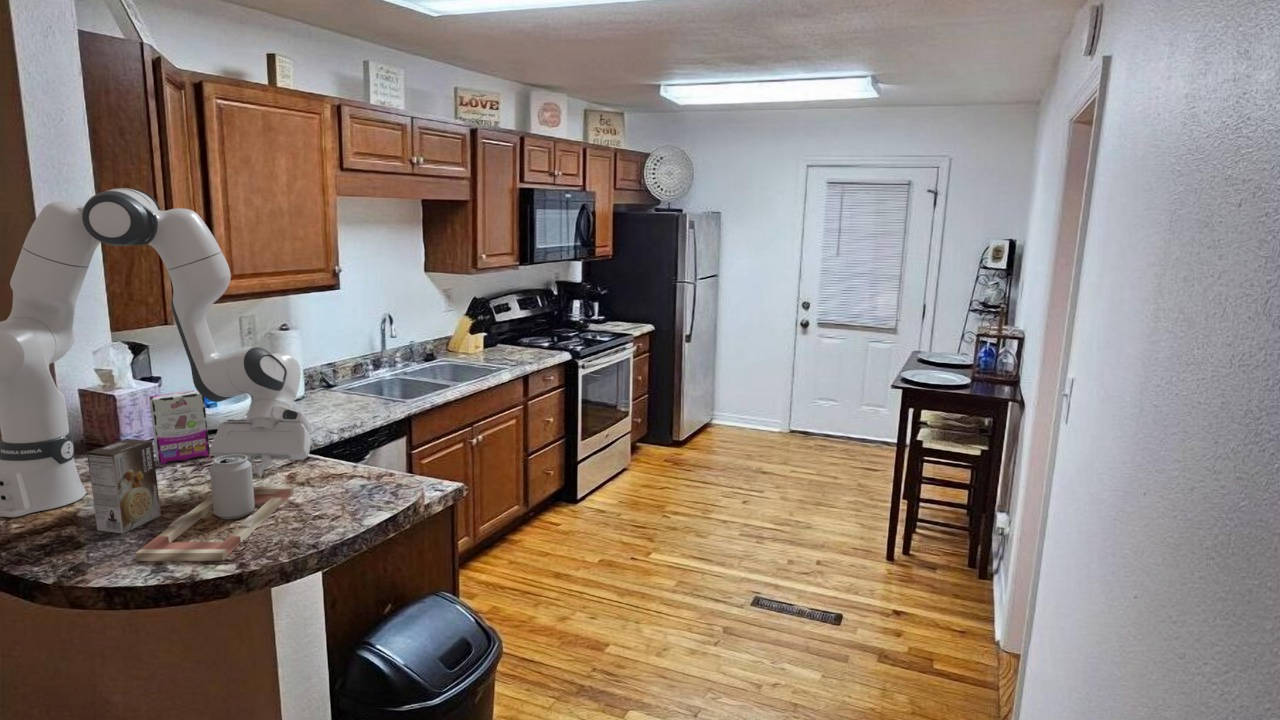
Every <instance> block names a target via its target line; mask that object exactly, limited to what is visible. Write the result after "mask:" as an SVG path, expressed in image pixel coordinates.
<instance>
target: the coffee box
mask: <svg viewBox="0 0 1280 720" xmlns="http://www.w3.org/2000/svg"><path fill="white" fill-rule="evenodd" d="M86 455H87V460H88V461H87V463H88V471H89V477H90V484H91V493H92V499H93V508H94V516H95V522H96V529H97V531H100V532H107V533H114V534H115V533H117V534H126V533H128V532H130V531H132V530H134V529H136V528H139V527H141V526H143V525H144V524H147V523H149V522H151V521H153V520H155V519H157V518H159V517H161V516H162V513H161V504H160V497H159V496H160V495H159V487H158V478H157V471H156V461H155V453H154V444H153V440H143V439H142V440H141V439H130V438H125V439H122V440H119V441H116V442H114V443H110V444H107V445H104V446H101V447H99V448H95V449H93V450H89V451H87V452H86Z"/></svg>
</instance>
